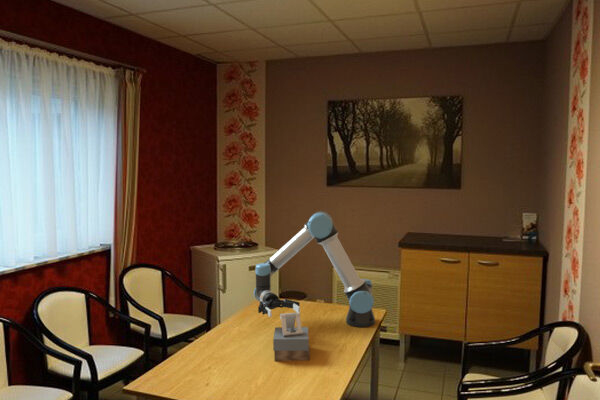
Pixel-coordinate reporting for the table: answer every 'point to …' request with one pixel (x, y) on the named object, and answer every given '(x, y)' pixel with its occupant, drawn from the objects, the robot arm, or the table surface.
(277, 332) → the tower top block
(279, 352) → the tower bottom block
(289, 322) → the portable electronic device stand
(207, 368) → the table surface
